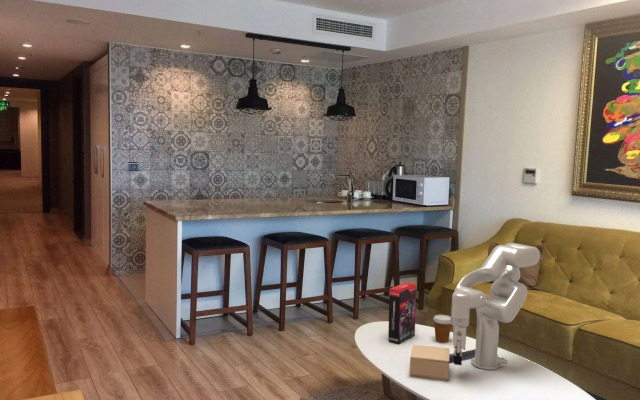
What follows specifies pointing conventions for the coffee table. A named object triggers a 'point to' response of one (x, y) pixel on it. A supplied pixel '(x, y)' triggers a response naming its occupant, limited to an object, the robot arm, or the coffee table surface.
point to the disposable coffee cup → (442, 328)
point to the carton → (429, 369)
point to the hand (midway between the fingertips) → (457, 361)
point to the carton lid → (431, 353)
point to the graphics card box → (402, 312)
